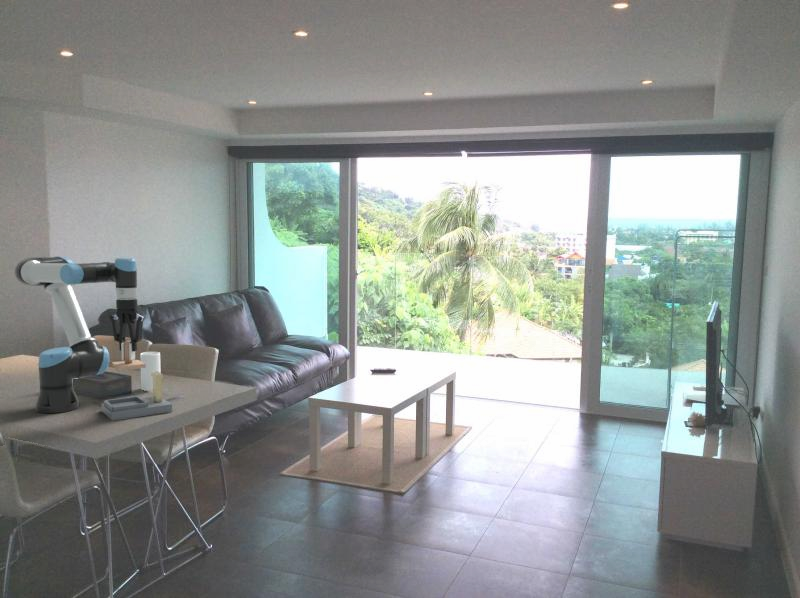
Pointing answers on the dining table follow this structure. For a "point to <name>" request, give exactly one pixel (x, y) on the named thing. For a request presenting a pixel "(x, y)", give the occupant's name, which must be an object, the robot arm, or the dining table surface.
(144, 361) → the cup
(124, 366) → the cover
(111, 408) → the housing
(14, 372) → the dining table surface
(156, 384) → the key
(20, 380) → the dining table surface
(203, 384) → the dining table surface
